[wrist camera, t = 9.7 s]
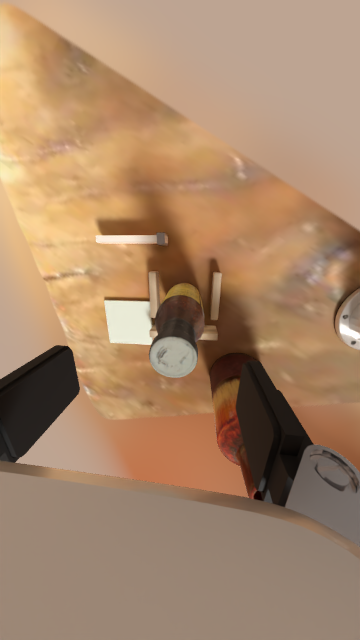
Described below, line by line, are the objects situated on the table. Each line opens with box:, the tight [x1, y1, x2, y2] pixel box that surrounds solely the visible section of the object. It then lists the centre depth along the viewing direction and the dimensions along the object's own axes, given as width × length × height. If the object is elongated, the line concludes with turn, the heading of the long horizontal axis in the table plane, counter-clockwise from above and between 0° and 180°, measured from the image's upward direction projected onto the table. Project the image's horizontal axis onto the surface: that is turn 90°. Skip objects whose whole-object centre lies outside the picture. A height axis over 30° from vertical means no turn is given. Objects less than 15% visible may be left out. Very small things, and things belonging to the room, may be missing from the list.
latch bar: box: [96, 233, 168, 246], centre depth 28 cm, size 11×2×3 cm, turn 89°
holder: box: [149, 271, 222, 340], centre depth 31 cm, size 12×11×4 cm
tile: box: [104, 300, 153, 345], centre depth 35 cm, size 9×9×1 cm
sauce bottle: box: [149, 283, 205, 378], centre depth 23 cm, size 7×6×20 cm
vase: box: [210, 353, 263, 501], centre depth 27 cm, size 11×11×20 cm
